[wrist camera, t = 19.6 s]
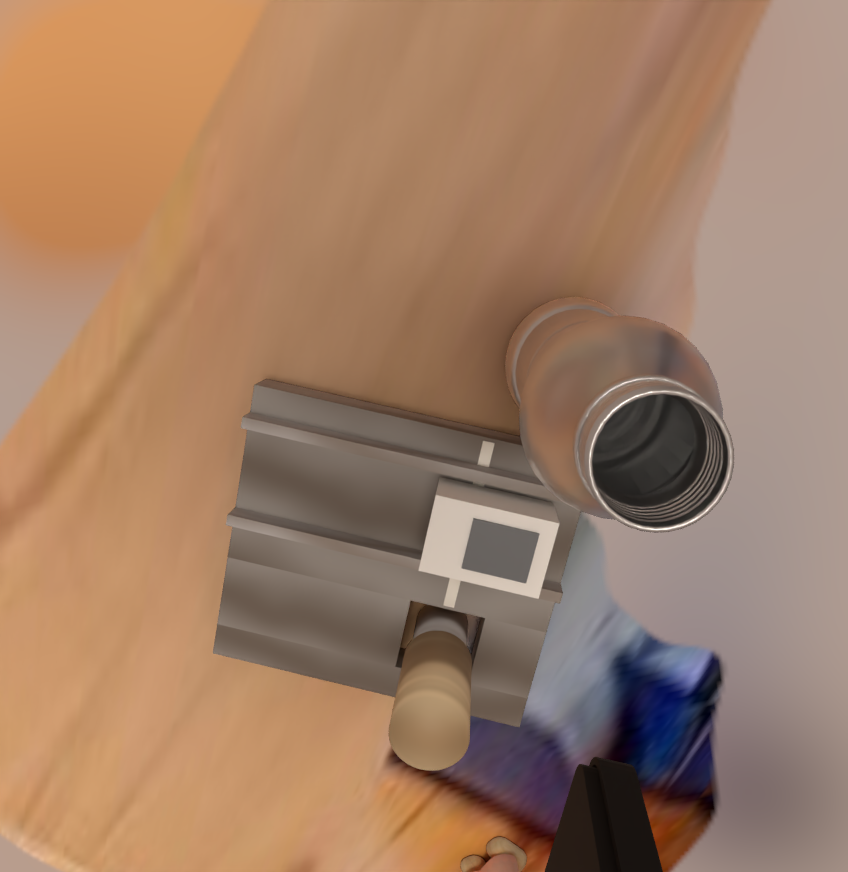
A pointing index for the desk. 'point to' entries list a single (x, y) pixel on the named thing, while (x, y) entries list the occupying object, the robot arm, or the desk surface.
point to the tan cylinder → (434, 692)
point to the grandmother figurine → (497, 858)
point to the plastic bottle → (619, 415)
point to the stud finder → (489, 538)
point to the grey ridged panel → (370, 545)
